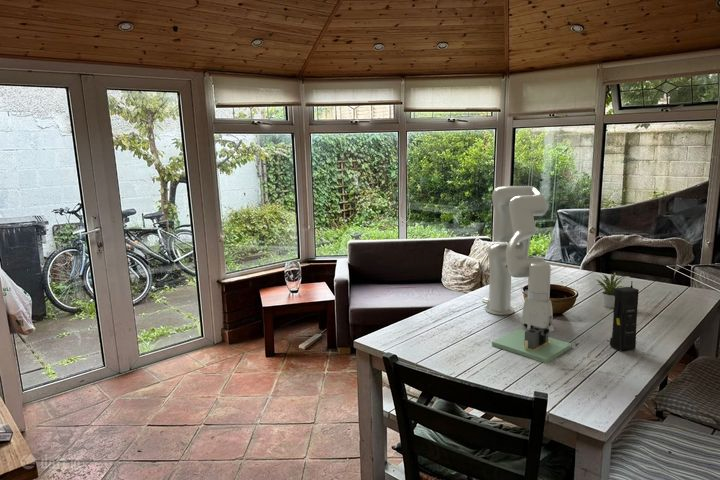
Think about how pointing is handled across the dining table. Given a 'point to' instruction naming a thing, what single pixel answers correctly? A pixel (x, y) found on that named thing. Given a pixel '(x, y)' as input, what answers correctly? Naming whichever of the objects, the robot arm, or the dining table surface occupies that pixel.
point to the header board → (541, 353)
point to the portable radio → (624, 318)
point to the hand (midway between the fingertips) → (536, 342)
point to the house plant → (609, 290)
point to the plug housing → (534, 337)
